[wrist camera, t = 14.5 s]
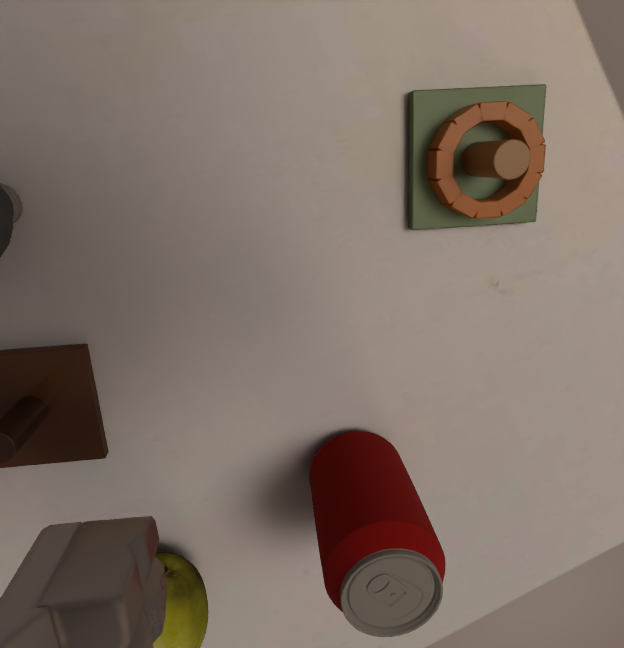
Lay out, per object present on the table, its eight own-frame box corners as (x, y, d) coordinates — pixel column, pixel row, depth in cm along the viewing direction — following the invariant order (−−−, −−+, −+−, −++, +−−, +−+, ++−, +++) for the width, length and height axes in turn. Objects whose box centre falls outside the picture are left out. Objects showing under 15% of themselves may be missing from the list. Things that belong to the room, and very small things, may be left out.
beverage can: (353, 522, 40) (389, 667, 29) (288, 470, 38) (299, 604, 27) (418, 463, 39) (482, 589, 28) (354, 407, 37) (395, 518, 26)
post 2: (409, 91, 31) (438, 78, 26) (540, 85, 32) (594, 71, 27) (408, 228, 34) (435, 241, 28) (530, 220, 34) (578, 232, 29)
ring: (427, 107, 31) (437, 104, 29) (534, 101, 31) (549, 98, 30) (426, 218, 33) (435, 221, 31) (526, 211, 33) (540, 215, 32)
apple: (95, 614, 41) (56, 720, 33) (121, 517, 38) (86, 607, 31) (195, 632, 42) (181, 737, 34) (227, 539, 40) (218, 630, 32)
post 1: (-42, 353, 34) (-98, 389, 28) (87, 343, 34) (55, 377, 29) (-12, 463, 36) (-59, 515, 31) (108, 452, 37) (83, 501, 31)
